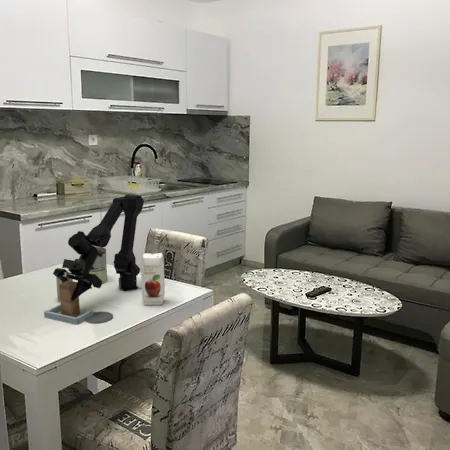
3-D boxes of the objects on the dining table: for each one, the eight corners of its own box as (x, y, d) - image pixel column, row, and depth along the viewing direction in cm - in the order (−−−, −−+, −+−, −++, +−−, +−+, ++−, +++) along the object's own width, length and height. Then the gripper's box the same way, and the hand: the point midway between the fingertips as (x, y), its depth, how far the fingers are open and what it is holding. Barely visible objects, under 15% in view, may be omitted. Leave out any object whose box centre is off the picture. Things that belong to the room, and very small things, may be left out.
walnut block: (70, 311, 177) (68, 280, 174) (79, 314, 175) (78, 282, 172) (61, 316, 173) (59, 284, 170) (71, 318, 171) (69, 286, 168)
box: (67, 301, 187) (65, 274, 185) (57, 301, 188) (55, 273, 186) (74, 297, 192) (72, 270, 190) (64, 296, 193) (62, 269, 191)
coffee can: (78, 281, 211) (76, 250, 208) (97, 276, 219) (95, 245, 217) (93, 286, 205) (92, 254, 203) (112, 280, 214) (111, 249, 211)
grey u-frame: (61, 309, 180) (61, 303, 180) (93, 316, 174) (93, 310, 173) (44, 316, 173) (43, 311, 172) (76, 324, 166) (76, 319, 166)
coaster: (107, 310, 179) (107, 309, 179) (117, 319, 171) (117, 318, 171) (80, 315, 174) (80, 314, 174) (89, 325, 166) (88, 324, 165)
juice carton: (143, 299, 191) (141, 252, 187) (165, 298, 192) (164, 252, 188) (141, 306, 184) (140, 257, 180) (164, 305, 184) (163, 257, 181)
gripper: (54, 246, 176) (33, 284, 169) (95, 252, 169) (74, 292, 161) (71, 262, 185) (51, 298, 178) (110, 268, 177) (91, 307, 170)
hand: (66, 298), depth 171 cm, fingers closed on walnut block, 4 cm apart
